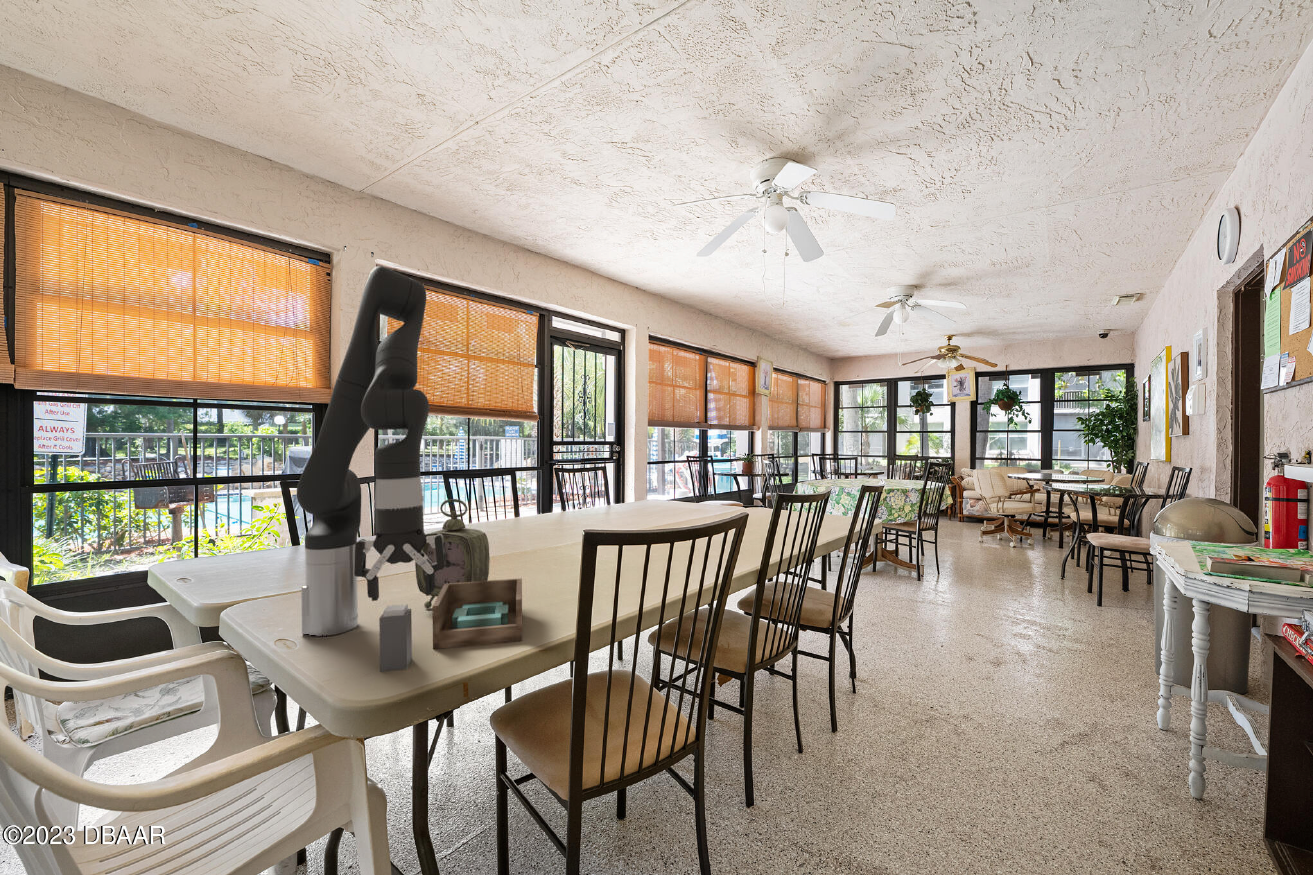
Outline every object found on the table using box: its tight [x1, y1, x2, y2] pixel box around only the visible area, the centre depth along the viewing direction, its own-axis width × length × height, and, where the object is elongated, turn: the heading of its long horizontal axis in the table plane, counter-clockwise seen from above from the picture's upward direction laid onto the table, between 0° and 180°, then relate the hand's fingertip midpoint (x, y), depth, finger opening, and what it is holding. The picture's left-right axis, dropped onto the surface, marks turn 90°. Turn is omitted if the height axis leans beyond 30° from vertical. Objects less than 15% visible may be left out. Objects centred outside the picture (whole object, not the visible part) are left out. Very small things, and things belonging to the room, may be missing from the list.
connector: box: [378, 603, 413, 673], centre depth 95 cm, size 4×4×10 cm
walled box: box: [432, 577, 523, 650], centre depth 111 cm, size 16×16×8 cm
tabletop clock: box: [414, 498, 491, 609], centre depth 127 cm, size 14×9×25 cm, turn 76°
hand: (402, 597), depth 95 cm, fingers open, 8 cm apart
